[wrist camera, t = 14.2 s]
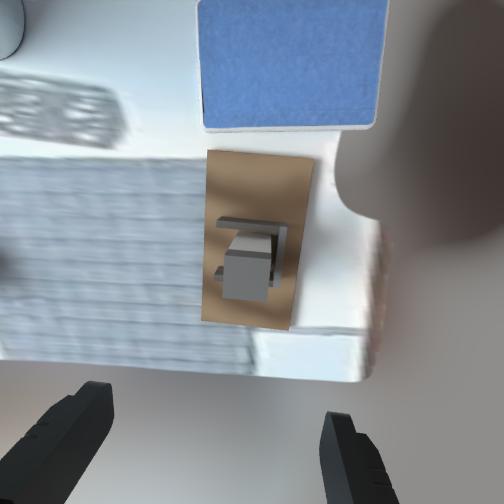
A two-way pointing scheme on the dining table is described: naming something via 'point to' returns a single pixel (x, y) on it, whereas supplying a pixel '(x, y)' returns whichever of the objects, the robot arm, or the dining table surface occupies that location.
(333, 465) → the robot arm
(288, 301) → the holder
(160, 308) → the dining table surface
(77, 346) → the dining table surface
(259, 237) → the plug
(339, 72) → the tablet computer
